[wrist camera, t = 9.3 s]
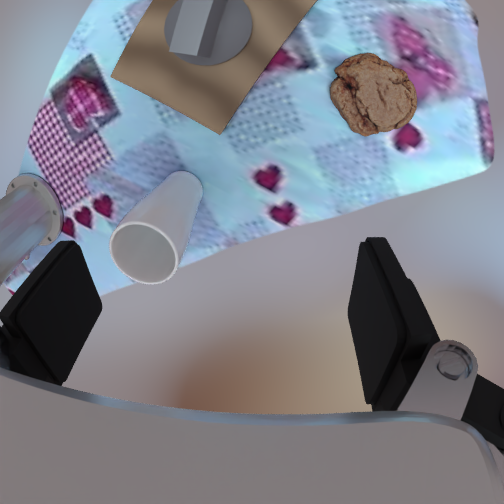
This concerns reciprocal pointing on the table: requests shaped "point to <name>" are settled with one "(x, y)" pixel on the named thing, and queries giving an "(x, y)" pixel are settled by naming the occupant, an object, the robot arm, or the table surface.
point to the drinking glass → (157, 230)
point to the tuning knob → (208, 30)
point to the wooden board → (205, 76)
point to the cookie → (373, 94)
